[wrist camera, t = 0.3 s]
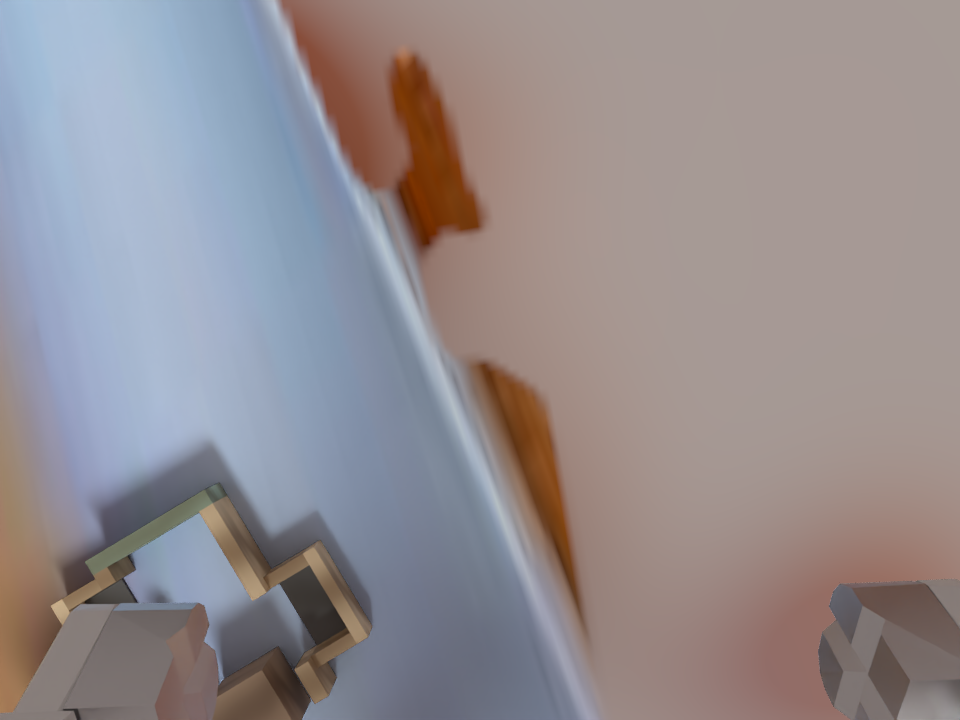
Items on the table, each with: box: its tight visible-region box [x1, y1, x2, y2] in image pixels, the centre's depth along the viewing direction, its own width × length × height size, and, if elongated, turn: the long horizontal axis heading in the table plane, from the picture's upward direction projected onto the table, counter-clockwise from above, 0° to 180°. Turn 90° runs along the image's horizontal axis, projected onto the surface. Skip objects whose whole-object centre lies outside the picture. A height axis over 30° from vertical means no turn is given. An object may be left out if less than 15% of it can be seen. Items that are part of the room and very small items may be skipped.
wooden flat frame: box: [51, 483, 372, 704], centre depth 62 cm, size 18×19×4 cm
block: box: [212, 647, 311, 720], centre depth 61 cm, size 5×5×5 cm
